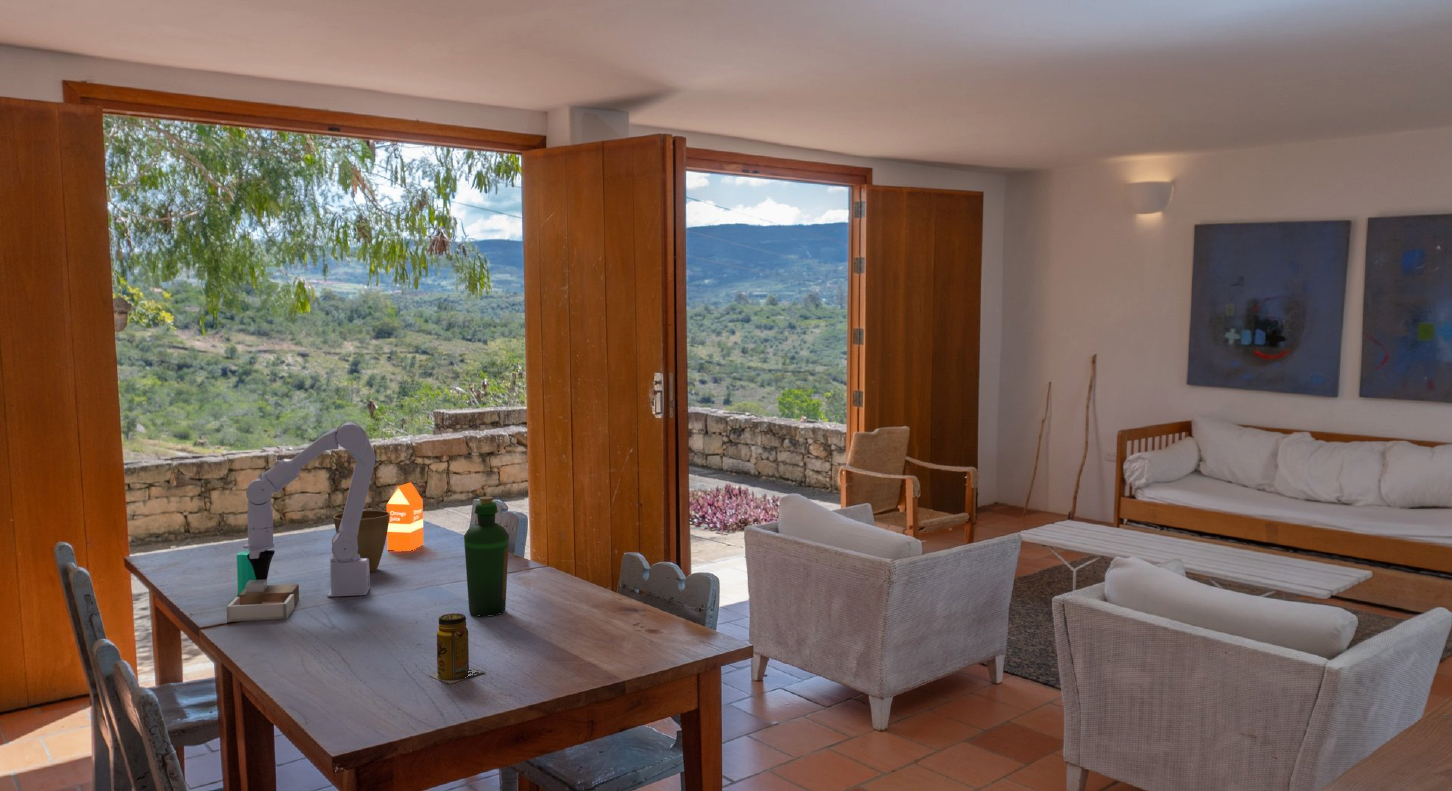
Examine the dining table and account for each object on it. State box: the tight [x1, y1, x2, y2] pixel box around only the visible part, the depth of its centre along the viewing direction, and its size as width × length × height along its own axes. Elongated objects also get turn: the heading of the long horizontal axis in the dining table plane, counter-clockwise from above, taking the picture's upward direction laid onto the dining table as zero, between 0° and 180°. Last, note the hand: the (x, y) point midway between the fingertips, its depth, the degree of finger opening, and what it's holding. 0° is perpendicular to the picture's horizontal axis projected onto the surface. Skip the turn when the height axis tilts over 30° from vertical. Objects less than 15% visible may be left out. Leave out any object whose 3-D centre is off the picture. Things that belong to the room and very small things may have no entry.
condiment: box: [428, 612, 486, 684], centre depth 199 cm, size 7×8×12 cm
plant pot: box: [333, 509, 390, 573], centre depth 282 cm, size 15×15×16 cm
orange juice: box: [386, 481, 424, 552], centre depth 310 cm, size 8×9×20 cm
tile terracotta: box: [262, 601, 283, 604], centre depth 238 cm, size 4×4×2 cm
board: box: [238, 583, 300, 607], centre depth 247 cm, size 12×8×4 cm, turn 102°
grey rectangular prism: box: [246, 578, 268, 592], centre depth 246 cm, size 4×4×2 cm
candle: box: [236, 549, 256, 596], centre depth 258 cm, size 6×6×12 cm
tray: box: [226, 594, 295, 623], centre depth 239 cm, size 13×9×4 cm, turn 102°
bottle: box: [463, 496, 510, 617], centre depth 241 cm, size 11×11×28 cm
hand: (261, 580), depth 251 cm, fingers closed
